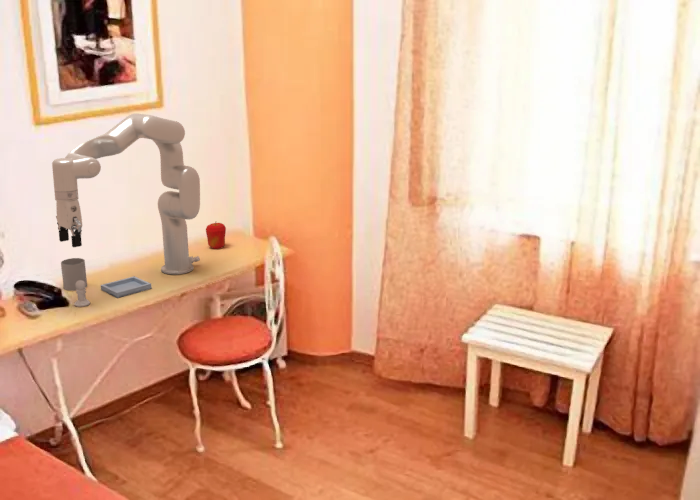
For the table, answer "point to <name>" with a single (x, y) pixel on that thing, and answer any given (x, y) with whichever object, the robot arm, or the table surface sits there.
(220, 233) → the apple
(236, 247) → the table surface
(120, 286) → the tray
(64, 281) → the cup
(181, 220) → the robot arm
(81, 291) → the chess piece
